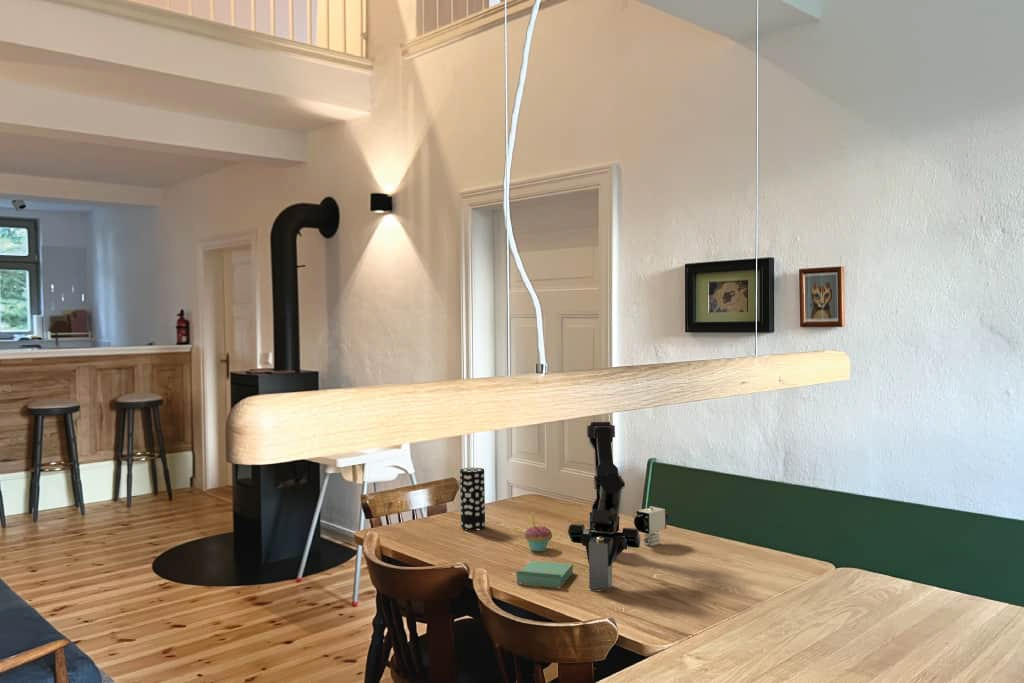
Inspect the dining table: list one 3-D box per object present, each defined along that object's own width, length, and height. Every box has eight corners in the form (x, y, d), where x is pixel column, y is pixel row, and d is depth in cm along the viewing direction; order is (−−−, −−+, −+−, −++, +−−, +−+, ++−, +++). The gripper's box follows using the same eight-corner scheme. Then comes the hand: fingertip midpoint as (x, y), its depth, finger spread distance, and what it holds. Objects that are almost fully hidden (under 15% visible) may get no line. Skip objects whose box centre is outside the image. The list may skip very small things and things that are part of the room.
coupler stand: (531, 569, 219) (531, 557, 219) (572, 573, 215) (572, 560, 215) (516, 583, 206) (516, 571, 206) (560, 588, 202) (559, 575, 202)
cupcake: (528, 554, 233) (528, 515, 233) (521, 546, 241) (520, 508, 241) (555, 551, 235) (555, 512, 235) (547, 544, 243) (546, 506, 243)
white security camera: (669, 542, 243) (669, 504, 243) (645, 550, 235) (644, 510, 235) (655, 539, 247) (655, 501, 247) (631, 546, 240) (631, 507, 239)
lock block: (593, 584, 205) (593, 534, 205) (612, 585, 204) (611, 535, 203) (589, 590, 201) (588, 539, 200) (608, 592, 199) (607, 540, 199)
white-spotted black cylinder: (457, 526, 267) (456, 469, 266) (479, 523, 270) (478, 466, 270) (466, 532, 259) (465, 473, 259) (489, 529, 263) (488, 470, 262)
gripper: (569, 494, 208) (558, 546, 198) (637, 498, 202) (630, 552, 192) (576, 516, 216) (567, 567, 206) (643, 520, 210) (636, 573, 200)
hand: (599, 564), depth 201 cm, fingers closed on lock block, 5 cm apart
